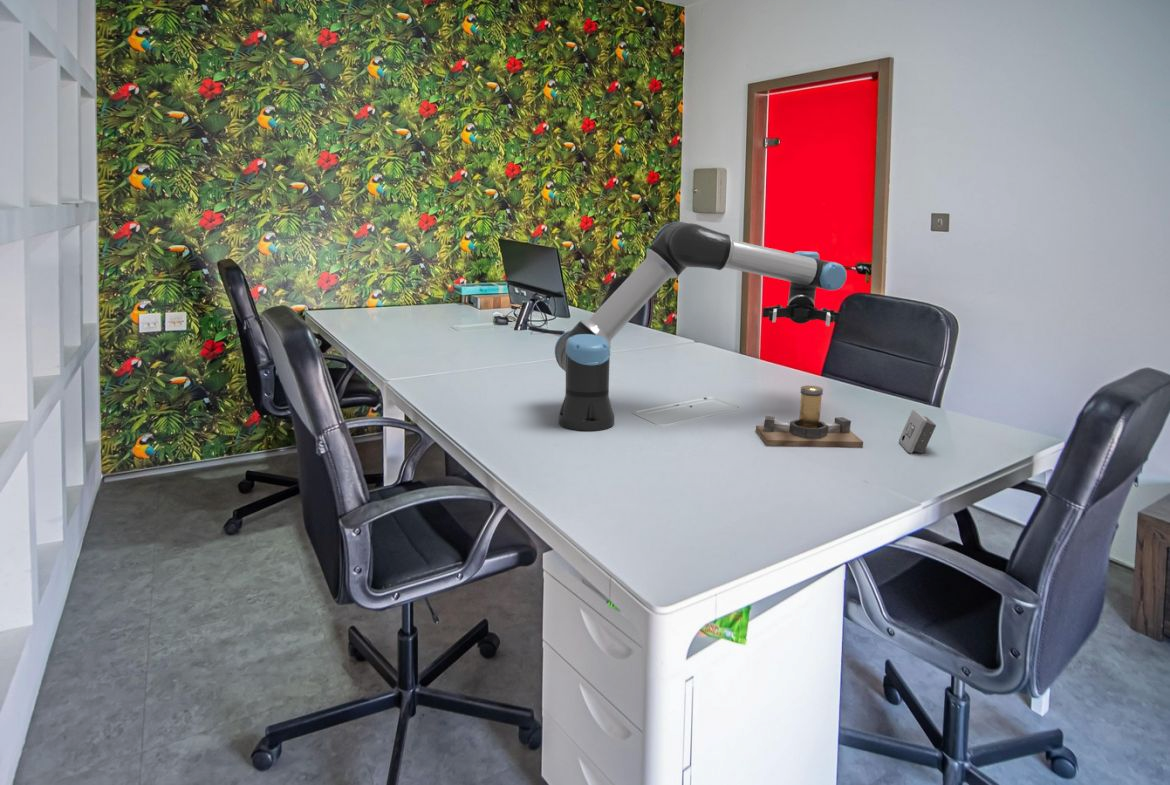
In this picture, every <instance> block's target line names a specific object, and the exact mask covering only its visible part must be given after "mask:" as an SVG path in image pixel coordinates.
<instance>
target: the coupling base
mask: <svg viewBox="0 0 1170 785" xmlns="http://www.w3.org/2000/svg"><path fill="white" fill-rule="evenodd" d="M764 417H765V418H764V421H763V425H759V424H758V425H755V432H756V433H757V435H758V436H759V437H760V438H761V440H762V442H763V443H764V444H765V446H766V447H801V448H802V447H803V448H804V447H805V448H807V447H809V448H811V447H815V448H816V447H817V448H861V449H862V448H863V447H864V440H862V439H861V438H860V437H858V436H857V435H856V434H855V433H854V431H852V430H851V422H852V420H850V419H847V418H845V417H843V416H841V417H834V422H833V423H831V422H829V423H825V422H824V421H819V428H805V427H801V426H799V418H797V419H794V420H792V421H790V422H789V423H788V422H779V421H778V422H777V421H776V420H775V418H776V417H775V416H774V415H773V416H771V415H765V416H764ZM788 424H789V425H788Z"/></svg>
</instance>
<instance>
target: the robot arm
mask: <svg viewBox="0 0 1170 785" xmlns="http://www.w3.org/2000/svg"><path fill="white" fill-rule="evenodd" d="M686 268H701V269H703V268H704V269H711V270H716V271H717V270H718V271H722V270H723V269H726V268H727V269H730V270H735V271H741V272H744V273H749V274H752V275H753V274H754V275H759V276H763V277H766V278H767V277H768V278H772V279H776V280H777V279H778V280H783V281H787V282H789V291H788V300H787V305H786V306H785V307H783V305H780V304H777V305H773V306H767V307H763V308H762V314H761V316H762V318H764V319H765V318H768V321H769V322H771V321H772V323H776V321H777V319H778V318H785V319H790V321H791V322H794V324H798V325H799V324H800V325H801V324H806V323H809V322H810V321H816V320H818V321H821V322H822V321H823V322H825V326H826V327H830V323H837V324H838V323H841V318H842V317H841V316H842V313H841V312H839V311H835V309H828V308H827V307H823V308H821V309H818V308H817V307H815V303H816V302H815V300H816V291H817V289H822V290H825V291H837V290H840V289H841V288H842V287H843V286H844V285H845V283H846V281H847V275H848V274H847V270H846V268H845V267H844V266H843V265H842V264H840V263H838V262H835V261H829V260H823V259H820V254H819V253H818V252H817V251H802V250H800V251H799V250H798V251H795V252H793V253H792V252H788V251H784V250H779V249H776V248H769V247H766V246H761V245H757V244H752V243H748V242H744V241H740V240H735V239H732V237H731V235H730V234H726V233H724V232H723V233H722V232H719V231H716V230H713V229H710V228H708V227H705V226H704V225H700V224H697V223H688V222H683V221H673V222H670V223H667V224H665V225H664V226H662V227H661V228H660V229H659V231H657V233H656V235H655V237H654V241H653V242H652V243H651V244H650V245H649V246H648V247H647V249H646V257H645V259H644V260H643V261H641V263H640V264H639V265H638V266H637V267H636V268H635V269H634V270H633V272H632V273H630V274H629V276H628V277H627V278H626V279H625V280H624V281H623V282H622V283H621V285H619V286H618V288H617V289H616V290H615V291H613V293H612V294H611V295H610V296H609V297H608V298H607V300H606V301H605V302H603V303H602V305H601V306H600V307H599V308H598V309H597V310H596V312H594V313H593V315H592V316H591V317H589V319H583V320H582V319H581V320H580V321H579V322H577V324H576V325H575V326H574V327H573V328H572V329H571V330H568V331H566V332H563V333H562V334H561V335H560V336H559V337H558V338H557V340H556V343H555V346H554V357H555V359H556V360H555V361H556V363H557V364H558V366H559V367H560V368H561V369H562V370H563V371H564V372H565V396H564V398H563V402H562V404H561V407H560V410H559V413H558V424H559V425H560V426H561V427H562V428H563V427H564V428H565V429H569V430H574V431H588V432H589V431H600V430H601V431H602V430H606V429H610V428H612V427H613V426H614V425H615V413H614V410H613V407H612V403H611V399H610V392H609V390H610V364H611V363H610V358H611V347H612V346H611V342H612V340H613V339H614V337H615V336H616V335H617V334H619V332H620V331H621V330H622V329H623V328H624V327H625V326H626V325H627V324H628V323H629V321H631V319H633V317H634V316H635V315H636V314H637V313H638V312H639V311H640V310H641V309H642V308H643V307H644V305H645V304H647V302H648V301H649V300H650V299H652V297H653V296H654V295H656V293H657V292H658V290H659V289H660V288H661V287H663V285H664V284H665V283H666V282H667V281H668V280H669V279H676V278H678V277H679V276H680V275H681V274H682V272H684V271H685V270H686Z"/></svg>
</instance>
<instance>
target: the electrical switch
mask: <svg viewBox="0 0 1170 785" xmlns="http://www.w3.org/2000/svg"><path fill="white" fill-rule="evenodd" d="M936 427H937V425H936V424H935V423H934V422H933V421H932V420H931V419H930V418H929V417H928V416H924V415H923V414H921V413H920V412H919V411H918V410H916V409H912V411H911V412H910V414H909V416H908V419H907V421H906V423H905V425H904V428H903V429H902V432H901V434H900V437H899V439H898V443H899V445H900V446H901V447H902V448H903V449H904V450H905V451H906V452H907V453H909V454H913V452H915V453H920V454H923V455H924V452H925V451H926V449H927V447H928V444H929V442H930V440H931V438H932V435H933V434H934V431H935V430H936V429H935V428H936Z"/></svg>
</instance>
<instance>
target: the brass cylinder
mask: <svg viewBox="0 0 1170 785" xmlns="http://www.w3.org/2000/svg"><path fill="white" fill-rule="evenodd" d="M823 392H824V389H823V388H822V387H820V386H816V385H803V386H801V387H800V392H799V393H800V405H799V406H800V408H799V418H798V419H799V426H801V427H805V428H819V421H820V419H821V408H822V407H821V405H822V396H823ZM820 422H821V421H820Z"/></svg>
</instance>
